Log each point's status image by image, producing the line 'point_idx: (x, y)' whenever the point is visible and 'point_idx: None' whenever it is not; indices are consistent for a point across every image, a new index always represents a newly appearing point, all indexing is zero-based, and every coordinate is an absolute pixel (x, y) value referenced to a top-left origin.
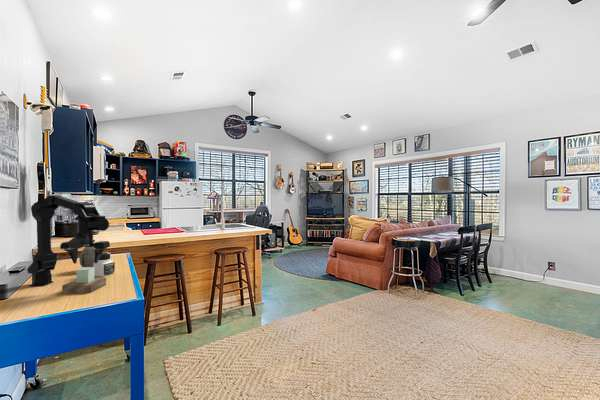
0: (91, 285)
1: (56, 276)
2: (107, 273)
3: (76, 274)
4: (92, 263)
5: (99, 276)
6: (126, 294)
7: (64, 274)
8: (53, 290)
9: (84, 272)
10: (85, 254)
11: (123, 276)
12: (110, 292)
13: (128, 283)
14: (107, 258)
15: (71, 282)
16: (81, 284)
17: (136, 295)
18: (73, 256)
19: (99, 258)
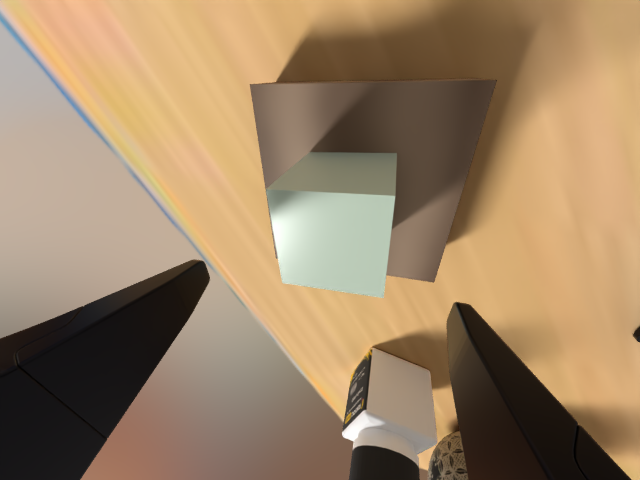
0: (252, 91)
1: (633, 416)
2: (363, 366)
3: (394, 176)
4: (465, 463)
5: (395, 356)
6: (66, 43)
7: (593, 429)
8: (579, 162)
9: (311, 180)
10: None
11: (294, 334)
12: (173, 89)
13: (206, 239)
14: (357, 454)
15: (447, 177)
16: (334, 109)
17: (7, 21)
18: (512, 423)
19: (397, 465)
